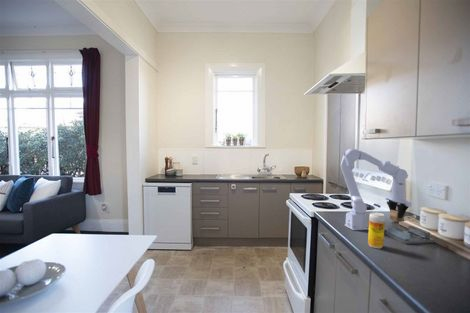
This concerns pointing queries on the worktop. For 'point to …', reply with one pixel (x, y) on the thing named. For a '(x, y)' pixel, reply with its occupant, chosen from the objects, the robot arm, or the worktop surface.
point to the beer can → (376, 230)
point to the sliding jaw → (399, 233)
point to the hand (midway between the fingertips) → (396, 216)
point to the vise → (414, 236)
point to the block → (395, 216)
